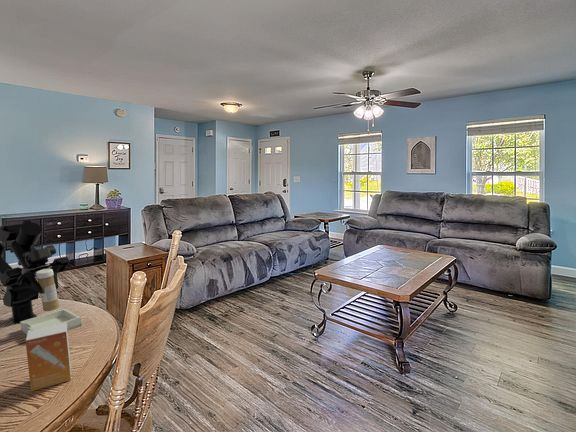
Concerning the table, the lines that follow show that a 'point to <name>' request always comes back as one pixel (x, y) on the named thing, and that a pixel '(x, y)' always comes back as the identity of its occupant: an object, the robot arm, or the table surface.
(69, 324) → the tray
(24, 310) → the robot arm
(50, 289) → the sprinkles bottle
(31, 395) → the table surface
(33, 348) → the small box
